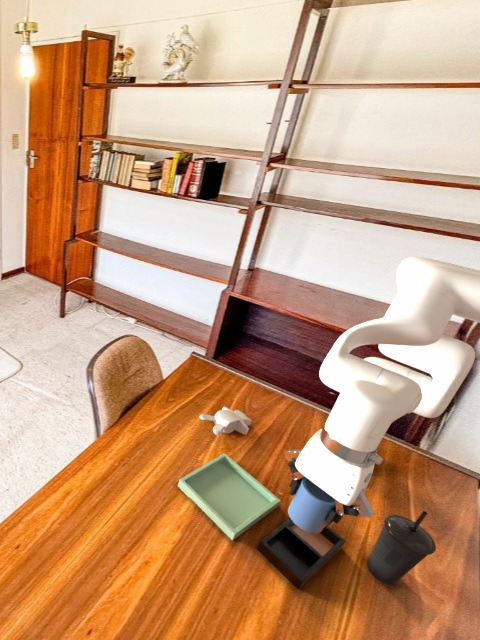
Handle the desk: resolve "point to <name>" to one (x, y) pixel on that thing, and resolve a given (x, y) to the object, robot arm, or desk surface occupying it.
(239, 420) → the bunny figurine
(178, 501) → the desk surface
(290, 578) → the black divided tray
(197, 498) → the tray
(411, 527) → the drinking cup
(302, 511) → the blue cup
